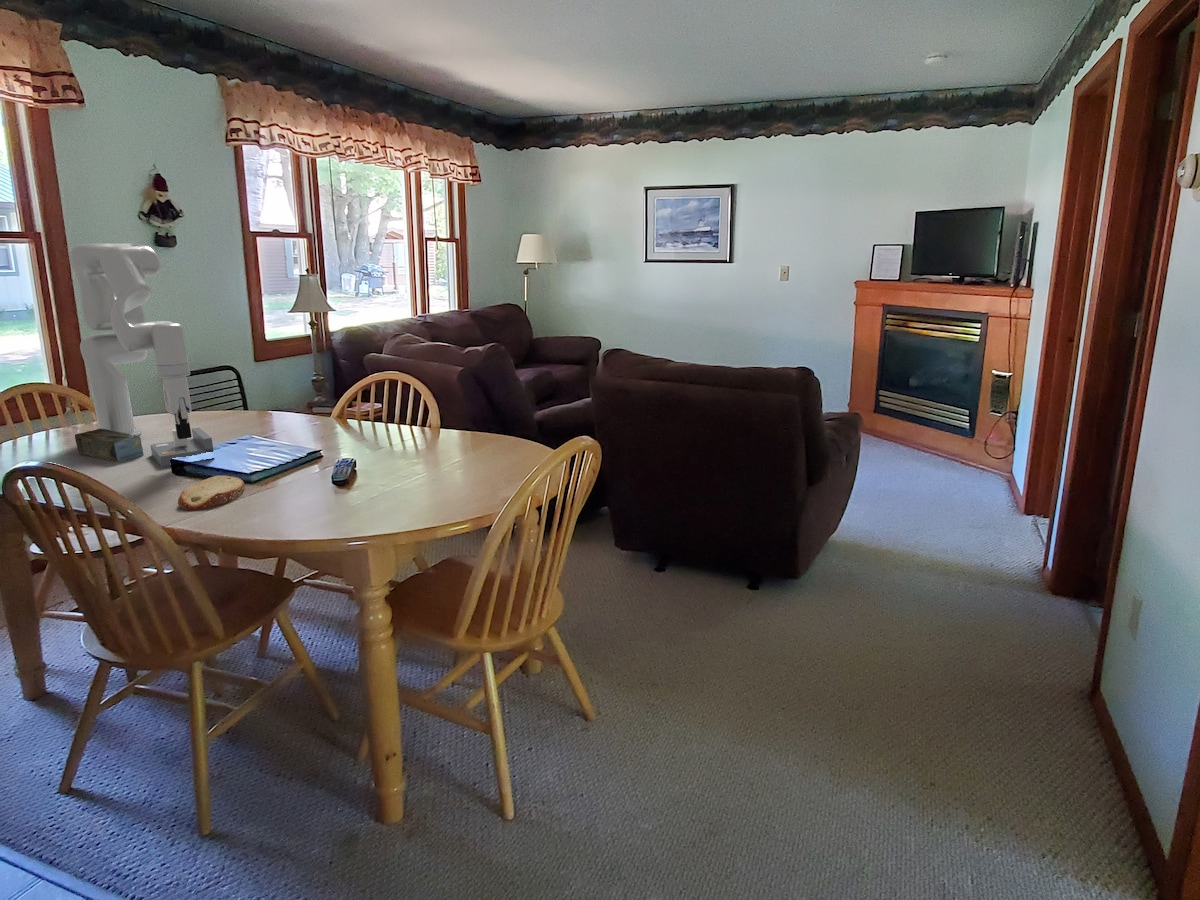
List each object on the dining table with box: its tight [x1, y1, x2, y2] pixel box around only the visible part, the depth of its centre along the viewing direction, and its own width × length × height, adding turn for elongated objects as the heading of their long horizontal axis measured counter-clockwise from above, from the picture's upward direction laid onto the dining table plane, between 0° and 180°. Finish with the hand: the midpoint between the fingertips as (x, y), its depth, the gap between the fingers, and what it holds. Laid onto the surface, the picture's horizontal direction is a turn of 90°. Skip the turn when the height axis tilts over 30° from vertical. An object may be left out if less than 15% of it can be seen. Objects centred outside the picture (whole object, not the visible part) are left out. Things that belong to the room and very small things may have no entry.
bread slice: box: [177, 475, 246, 512], centre depth 185 cm, size 18×18×4 cm
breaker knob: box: [171, 428, 188, 447], centre depth 218 cm, size 2×3×4 cm
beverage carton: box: [74, 428, 144, 463], centre depth 222 cm, size 8×19×7 cm, turn 62°
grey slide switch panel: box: [149, 427, 214, 468], centre depth 219 cm, size 16×13×6 cm
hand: (184, 437), depth 212 cm, fingers closed
